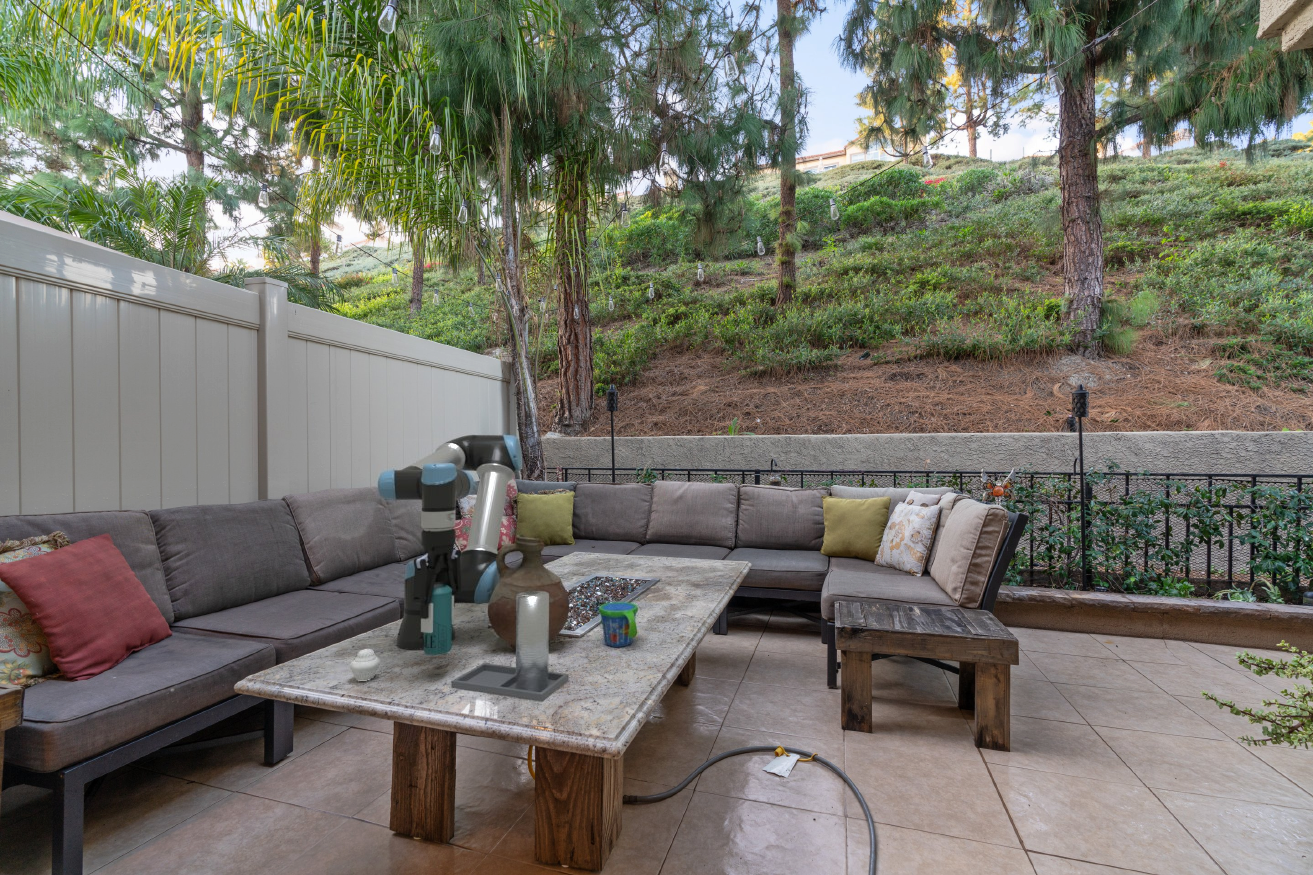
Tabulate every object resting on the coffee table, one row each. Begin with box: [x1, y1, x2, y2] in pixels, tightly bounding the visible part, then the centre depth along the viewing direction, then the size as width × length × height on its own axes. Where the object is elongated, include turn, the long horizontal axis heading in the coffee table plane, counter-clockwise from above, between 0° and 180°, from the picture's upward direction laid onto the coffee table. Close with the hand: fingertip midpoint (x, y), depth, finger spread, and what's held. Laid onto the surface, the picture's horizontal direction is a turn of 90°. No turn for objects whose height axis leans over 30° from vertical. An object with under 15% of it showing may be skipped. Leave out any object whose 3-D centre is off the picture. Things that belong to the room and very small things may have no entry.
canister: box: [515, 591, 550, 692], centre depth 123 cm, size 7×7×20 cm
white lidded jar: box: [349, 648, 381, 681], centre depth 130 cm, size 6×6×7 cm
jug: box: [487, 534, 570, 649], centre depth 152 cm, size 22×22×30 cm
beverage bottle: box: [422, 571, 453, 656], centre depth 131 cm, size 6×7×20 cm
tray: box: [450, 662, 569, 702], centre depth 124 cm, size 12×22×2 cm, turn 72°
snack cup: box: [598, 601, 639, 648], centre depth 155 cm, size 16×10×10 cm
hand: (437, 626), depth 131 cm, fingers closed on beverage bottle, 6 cm apart
